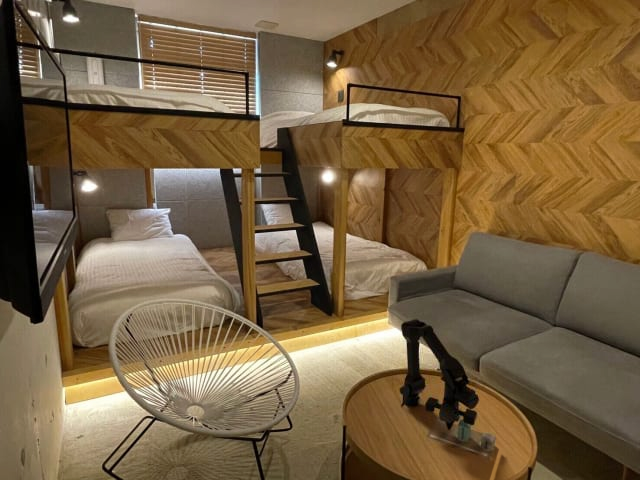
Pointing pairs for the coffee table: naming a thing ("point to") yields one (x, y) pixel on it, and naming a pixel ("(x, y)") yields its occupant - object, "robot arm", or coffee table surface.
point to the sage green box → (463, 431)
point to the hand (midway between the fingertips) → (449, 429)
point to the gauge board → (476, 444)
